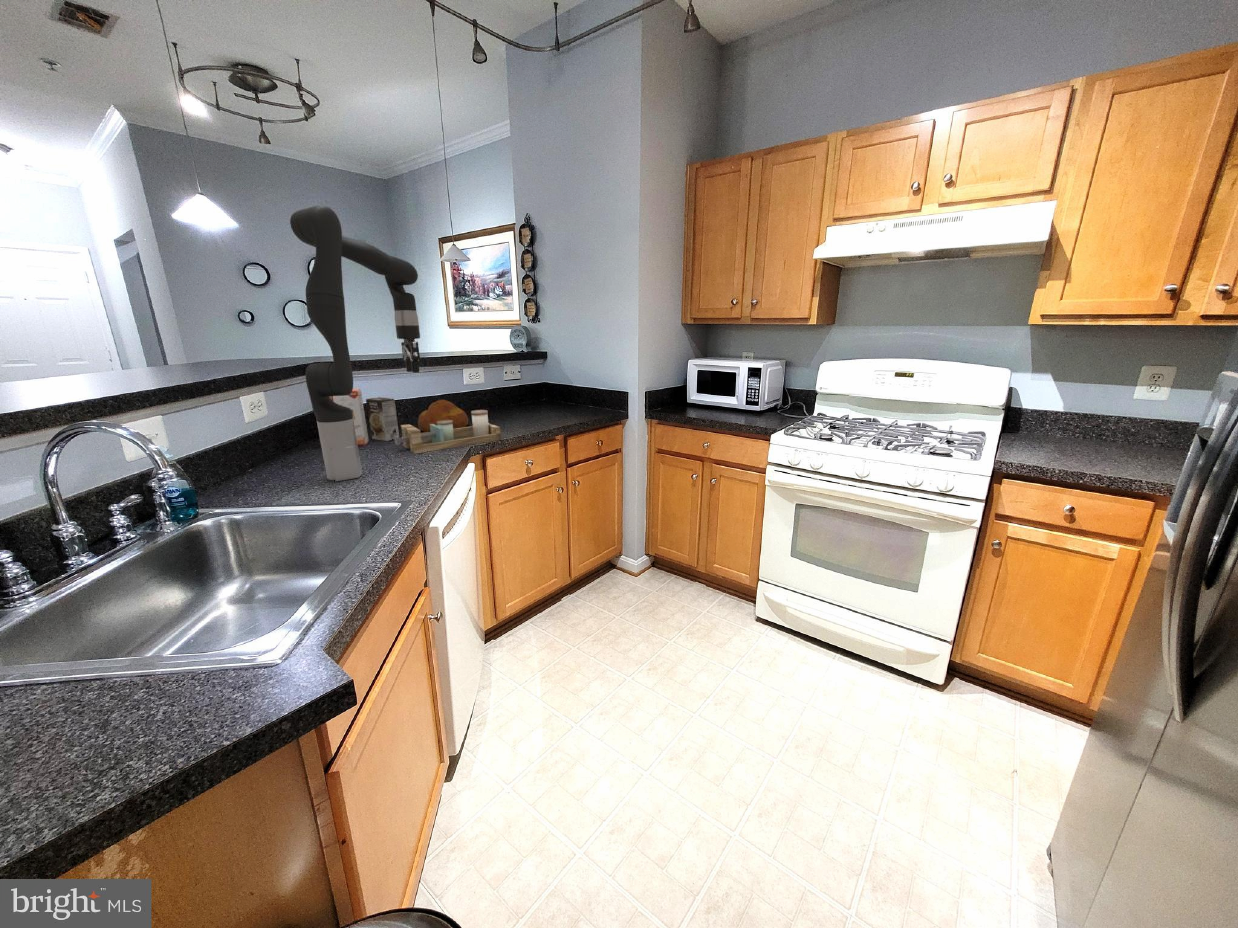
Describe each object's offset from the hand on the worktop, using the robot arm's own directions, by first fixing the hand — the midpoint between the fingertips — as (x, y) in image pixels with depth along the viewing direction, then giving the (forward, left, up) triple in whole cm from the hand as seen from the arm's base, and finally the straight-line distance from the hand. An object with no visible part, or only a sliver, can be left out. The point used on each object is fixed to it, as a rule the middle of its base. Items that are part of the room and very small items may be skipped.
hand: (412, 372), depth 171 cm
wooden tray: (-1, -11, -27) cm, 30 cm away
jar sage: (-1, -9, -28) cm, 29 cm away
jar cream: (-1, -23, -28) cm, 36 cm away
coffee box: (+25, +7, -28) cm, 38 cm away
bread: (+31, -18, -28) cm, 45 cm away
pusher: (-1, +2, -27) cm, 27 cm away
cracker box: (+23, +21, -28) cm, 42 cm away
